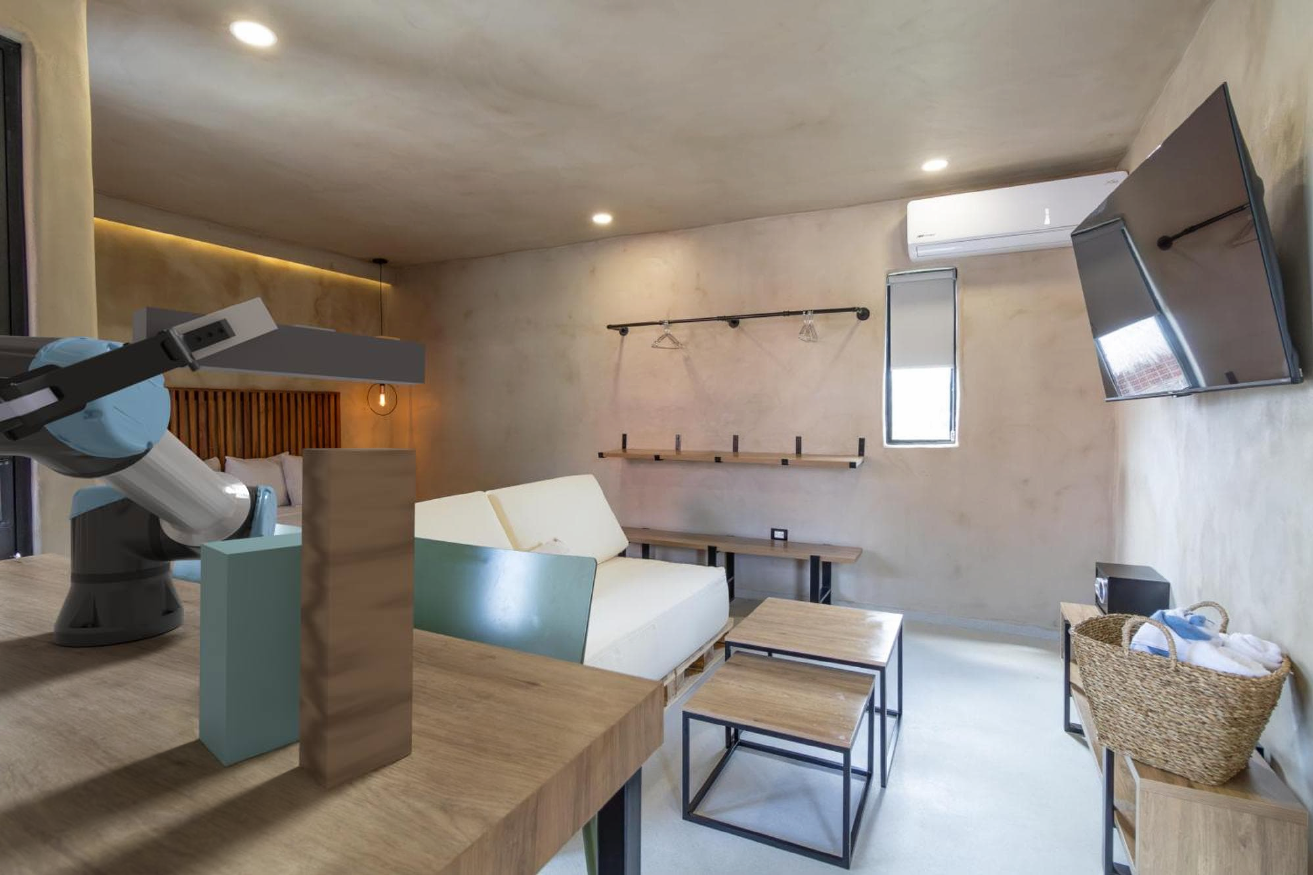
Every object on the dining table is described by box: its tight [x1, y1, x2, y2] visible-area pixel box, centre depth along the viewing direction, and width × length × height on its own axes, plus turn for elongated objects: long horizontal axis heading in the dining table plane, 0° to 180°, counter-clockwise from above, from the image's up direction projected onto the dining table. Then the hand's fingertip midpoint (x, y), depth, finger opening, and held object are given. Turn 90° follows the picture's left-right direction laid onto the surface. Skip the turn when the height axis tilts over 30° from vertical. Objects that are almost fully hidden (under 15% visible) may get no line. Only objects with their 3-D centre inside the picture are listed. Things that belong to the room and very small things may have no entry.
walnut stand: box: [298, 447, 417, 790], centre depth 59 cm, size 6×8×30 cm
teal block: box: [198, 531, 302, 767], centre depth 64 cm, size 8×10×20 cm
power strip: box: [131, 306, 426, 386], centre depth 54 cm, size 4×22×4 cm, turn 142°
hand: (255, 316), depth 52 cm, fingers closed on power strip, 4 cm apart
